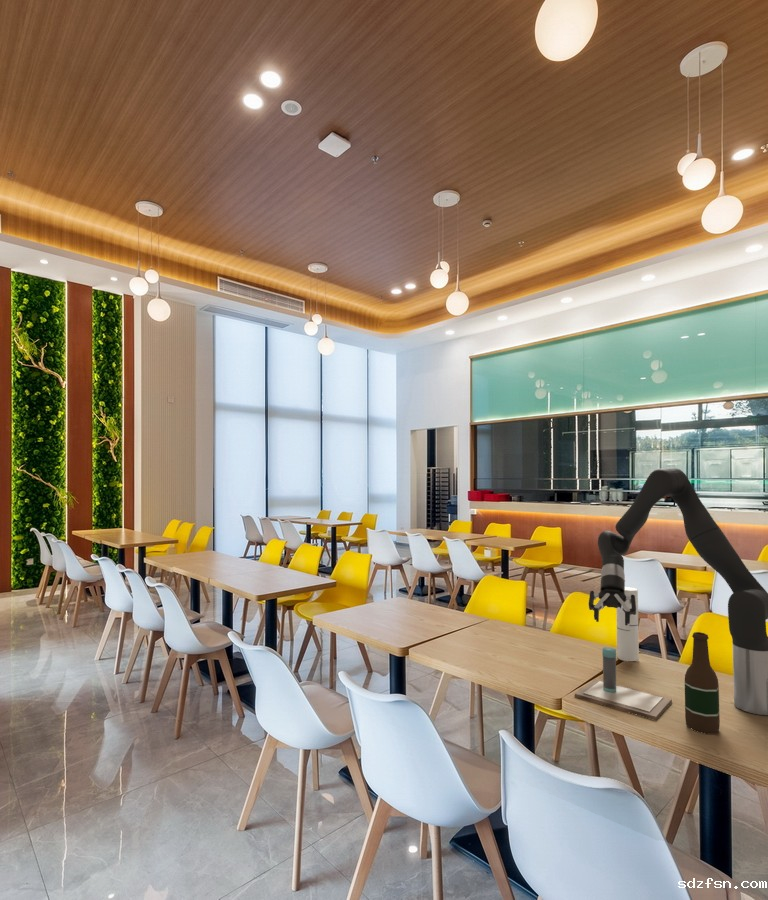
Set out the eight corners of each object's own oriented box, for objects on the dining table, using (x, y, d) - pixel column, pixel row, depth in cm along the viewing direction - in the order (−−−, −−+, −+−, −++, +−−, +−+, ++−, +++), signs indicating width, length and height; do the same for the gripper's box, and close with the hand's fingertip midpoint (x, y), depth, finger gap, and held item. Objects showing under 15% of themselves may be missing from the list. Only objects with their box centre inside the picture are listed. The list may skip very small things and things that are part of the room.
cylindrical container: (642, 662, 186) (641, 590, 187) (622, 661, 186) (621, 590, 187) (633, 655, 193) (632, 586, 194) (613, 655, 193) (612, 586, 194)
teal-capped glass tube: (618, 690, 156) (617, 649, 157) (614, 693, 153) (613, 652, 154) (605, 686, 159) (604, 646, 159) (601, 690, 156) (600, 649, 156)
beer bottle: (715, 723, 138) (713, 631, 139) (724, 737, 130) (721, 639, 132) (682, 719, 140) (680, 628, 142) (688, 731, 133) (686, 635, 134)
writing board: (671, 702, 151) (671, 698, 151) (656, 720, 139) (655, 715, 139) (594, 682, 166) (594, 678, 166) (574, 696, 154) (574, 692, 154)
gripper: (589, 571, 179) (587, 613, 168) (635, 575, 173) (636, 618, 162) (591, 585, 184) (588, 625, 173) (635, 589, 178) (636, 631, 166)
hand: (611, 622), depth 167 cm, fingers open, 8 cm apart
